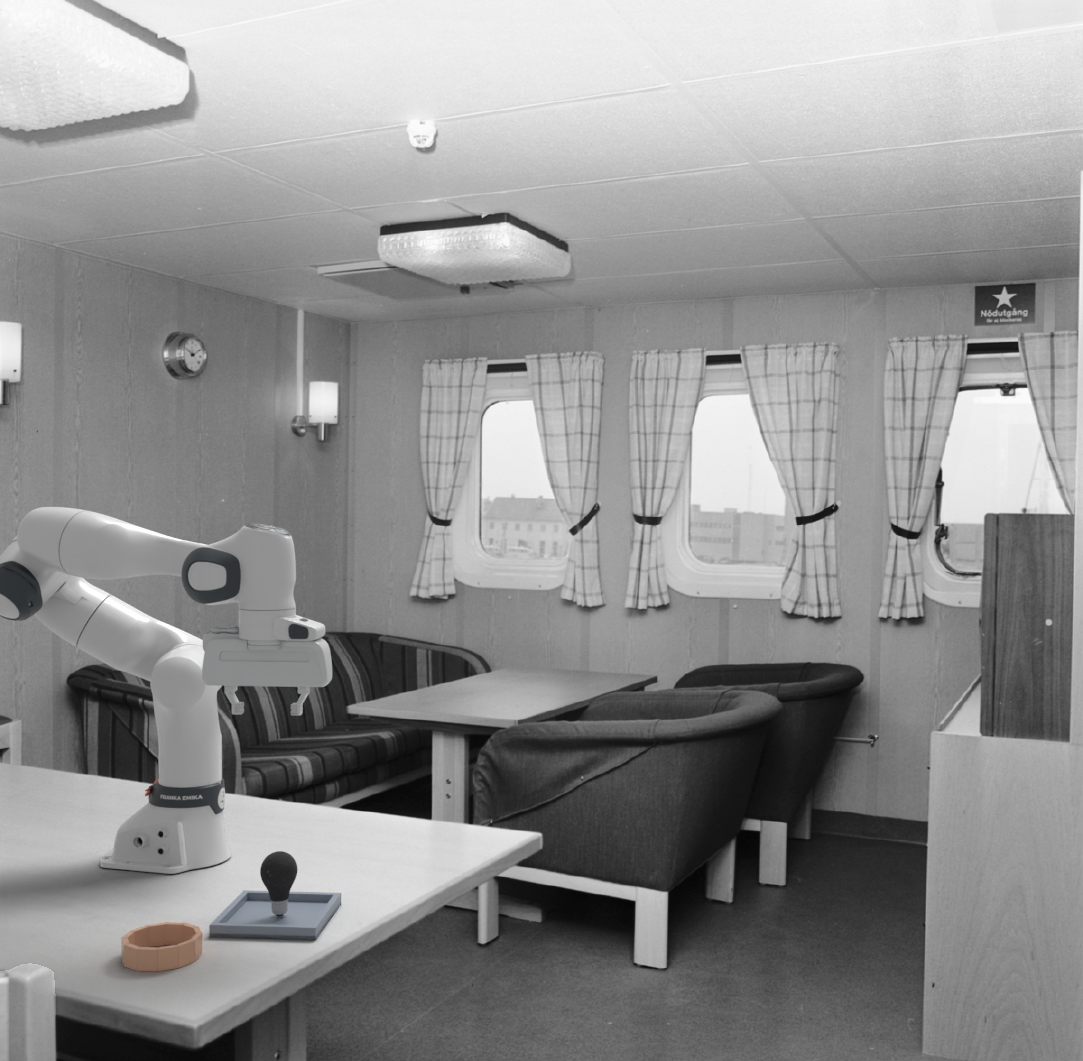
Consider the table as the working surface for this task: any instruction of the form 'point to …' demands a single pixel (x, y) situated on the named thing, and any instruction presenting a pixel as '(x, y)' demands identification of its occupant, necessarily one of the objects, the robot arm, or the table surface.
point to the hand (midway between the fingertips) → (267, 714)
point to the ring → (149, 958)
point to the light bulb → (279, 879)
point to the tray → (257, 920)
